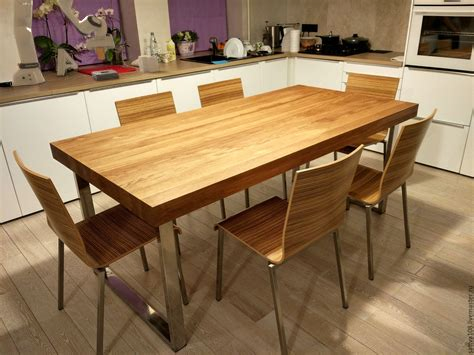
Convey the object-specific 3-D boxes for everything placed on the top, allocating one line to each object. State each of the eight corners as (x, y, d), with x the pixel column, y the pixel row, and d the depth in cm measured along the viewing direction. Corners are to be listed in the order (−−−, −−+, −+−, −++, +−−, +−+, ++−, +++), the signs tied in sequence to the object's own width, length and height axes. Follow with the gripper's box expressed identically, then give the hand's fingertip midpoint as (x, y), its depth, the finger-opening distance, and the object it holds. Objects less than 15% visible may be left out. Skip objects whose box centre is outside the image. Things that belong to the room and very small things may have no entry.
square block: (98, 59, 291) (96, 48, 287) (99, 59, 294) (97, 47, 291) (104, 59, 291) (102, 48, 288) (105, 58, 295) (103, 47, 291)
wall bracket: (77, 90, 338) (62, 74, 308) (71, 90, 337) (57, 74, 308) (77, 66, 342) (63, 48, 312) (72, 66, 342) (58, 48, 312)
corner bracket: (140, 71, 320) (138, 56, 315) (151, 69, 327) (150, 54, 322) (147, 72, 313) (145, 57, 308) (159, 70, 320) (157, 55, 315)
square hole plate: (97, 80, 289) (96, 74, 287) (92, 77, 301) (91, 71, 300) (118, 77, 296) (118, 72, 294) (113, 74, 308) (112, 69, 307)
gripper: (85, 35, 291) (84, 51, 286) (113, 34, 293) (113, 49, 288) (87, 41, 297) (87, 56, 292) (115, 39, 299) (115, 55, 294)
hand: (100, 53), depth 290 cm, fingers closed on square block, 4 cm apart
